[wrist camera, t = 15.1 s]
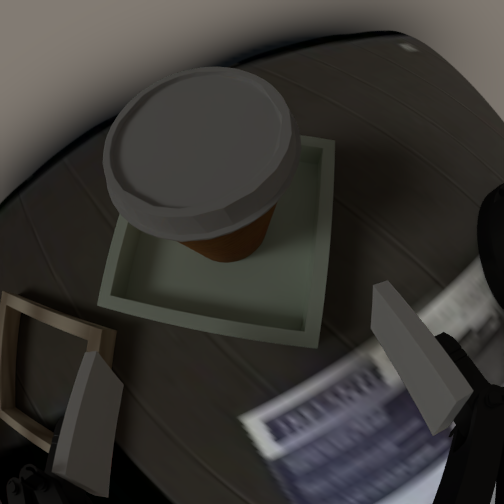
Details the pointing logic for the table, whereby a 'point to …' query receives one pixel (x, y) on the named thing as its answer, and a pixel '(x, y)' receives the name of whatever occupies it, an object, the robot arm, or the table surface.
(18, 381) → the table surface
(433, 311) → the table surface
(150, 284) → the tray
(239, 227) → the disposable coffee cup
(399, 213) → the table surface
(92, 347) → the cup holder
